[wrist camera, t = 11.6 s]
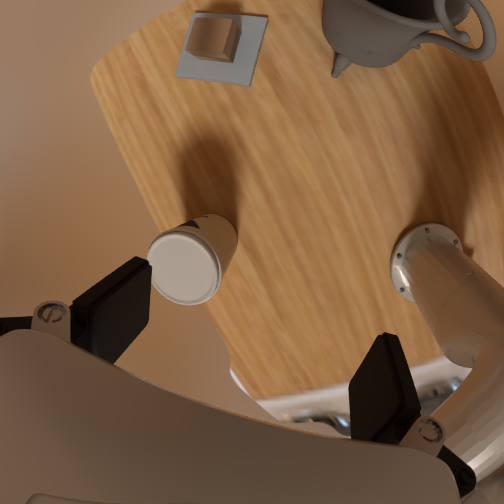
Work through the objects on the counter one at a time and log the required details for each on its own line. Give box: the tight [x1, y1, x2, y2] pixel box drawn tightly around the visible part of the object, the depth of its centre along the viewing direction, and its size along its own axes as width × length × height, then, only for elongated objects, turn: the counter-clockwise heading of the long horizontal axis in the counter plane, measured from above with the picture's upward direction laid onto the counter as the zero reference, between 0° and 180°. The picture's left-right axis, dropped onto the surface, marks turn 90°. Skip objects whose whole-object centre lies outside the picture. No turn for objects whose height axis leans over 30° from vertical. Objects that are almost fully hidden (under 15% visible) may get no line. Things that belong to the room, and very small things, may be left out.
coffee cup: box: [147, 214, 237, 305], centre depth 38 cm, size 9×9×12 cm
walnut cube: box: [185, 17, 242, 63], centre depth 30 cm, size 5×5×5 cm
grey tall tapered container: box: [322, 0, 496, 78], centre depth 18 cm, size 19×15×25 cm
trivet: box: [175, 13, 268, 87], centre depth 33 cm, size 11×11×1 cm
